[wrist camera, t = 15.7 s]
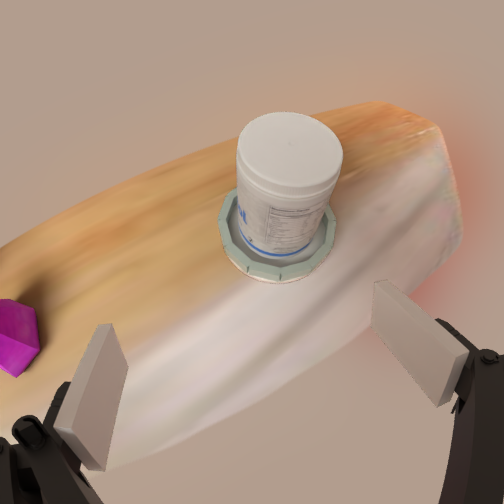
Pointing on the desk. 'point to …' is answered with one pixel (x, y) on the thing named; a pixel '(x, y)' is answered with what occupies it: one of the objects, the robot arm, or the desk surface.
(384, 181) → the desk surface
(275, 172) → the supplement tub
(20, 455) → the robot arm
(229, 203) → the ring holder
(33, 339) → the magenta faceted rounded piece
